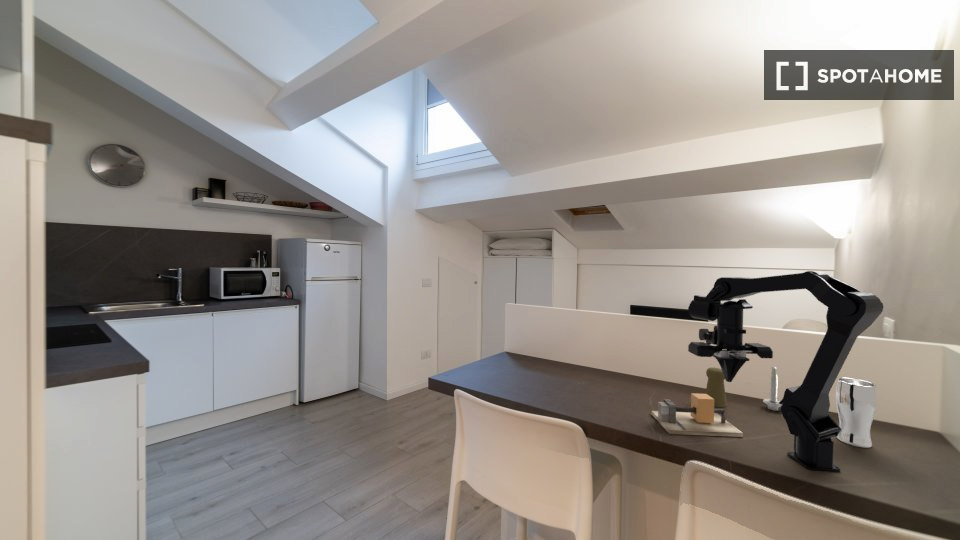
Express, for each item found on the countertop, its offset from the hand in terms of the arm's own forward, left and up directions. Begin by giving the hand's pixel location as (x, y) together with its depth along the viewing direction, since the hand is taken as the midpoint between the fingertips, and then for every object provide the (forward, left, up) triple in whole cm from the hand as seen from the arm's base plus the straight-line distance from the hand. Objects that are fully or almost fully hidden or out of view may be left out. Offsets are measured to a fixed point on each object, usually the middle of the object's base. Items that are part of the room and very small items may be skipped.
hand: (728, 381), depth 98 cm
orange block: (0, +7, -10) cm, 12 cm away
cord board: (0, +9, -12) cm, 15 cm away
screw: (+13, -20, -12) cm, 27 cm away
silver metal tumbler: (-6, -26, -12) cm, 30 cm away
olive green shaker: (+16, -5, -12) cm, 21 cm away
